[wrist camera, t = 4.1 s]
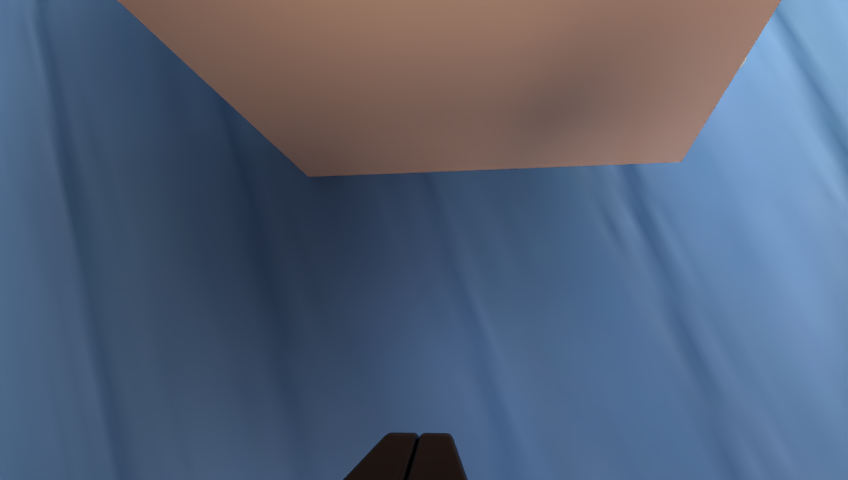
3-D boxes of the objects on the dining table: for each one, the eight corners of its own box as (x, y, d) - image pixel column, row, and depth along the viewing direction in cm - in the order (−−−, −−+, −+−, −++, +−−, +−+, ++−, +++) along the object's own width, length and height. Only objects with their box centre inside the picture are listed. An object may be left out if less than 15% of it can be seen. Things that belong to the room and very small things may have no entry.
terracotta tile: (681, 162, 23) (886, -171, 9) (308, 176, 25) (26, -84, 11) (676, 86, 23) (863, -334, 10) (310, 106, 25) (44, -226, 12)
